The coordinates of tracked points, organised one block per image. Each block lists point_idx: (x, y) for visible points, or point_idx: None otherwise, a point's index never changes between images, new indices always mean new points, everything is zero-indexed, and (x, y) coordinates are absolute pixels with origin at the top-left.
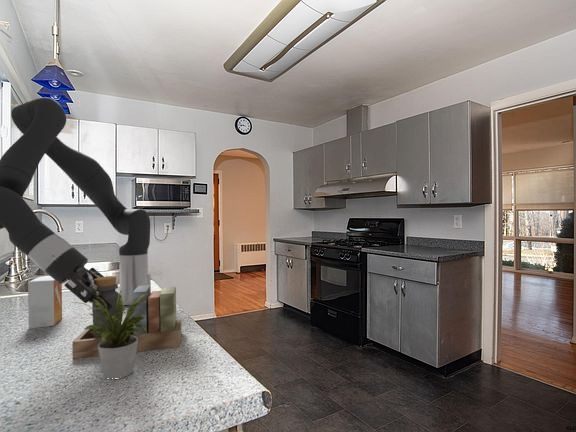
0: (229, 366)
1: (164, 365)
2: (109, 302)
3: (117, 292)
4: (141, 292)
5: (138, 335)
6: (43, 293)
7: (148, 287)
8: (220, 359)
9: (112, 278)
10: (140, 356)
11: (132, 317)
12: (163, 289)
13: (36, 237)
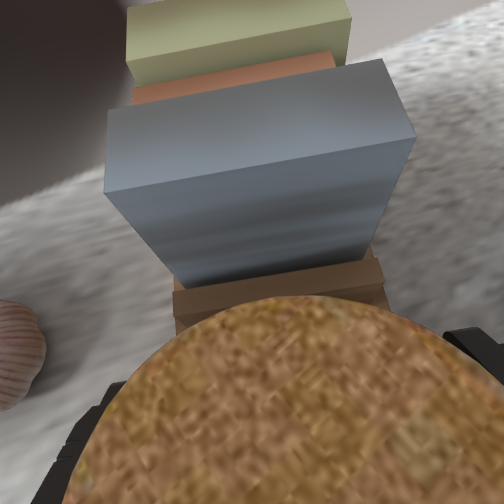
0: (463, 28)
1: (474, 163)
2: (491, 347)
3: (97, 420)
4: (389, 86)
5: (371, 250)
6: None
7: (211, 91)
8: (421, 50)
9: (408, 320)
10: (406, 255)
11: (317, 270)
12: (197, 42)
13: None
